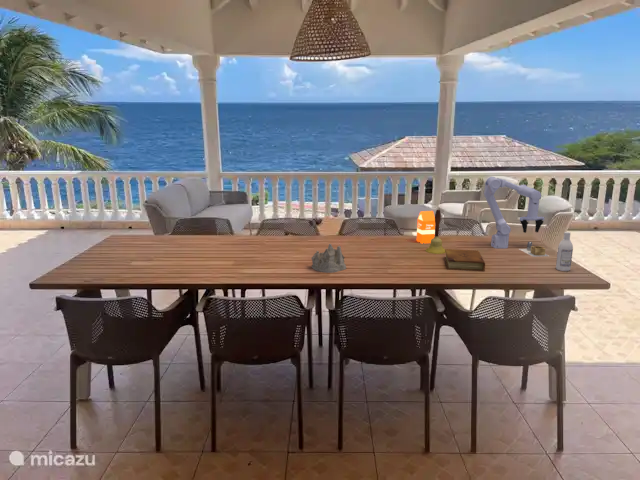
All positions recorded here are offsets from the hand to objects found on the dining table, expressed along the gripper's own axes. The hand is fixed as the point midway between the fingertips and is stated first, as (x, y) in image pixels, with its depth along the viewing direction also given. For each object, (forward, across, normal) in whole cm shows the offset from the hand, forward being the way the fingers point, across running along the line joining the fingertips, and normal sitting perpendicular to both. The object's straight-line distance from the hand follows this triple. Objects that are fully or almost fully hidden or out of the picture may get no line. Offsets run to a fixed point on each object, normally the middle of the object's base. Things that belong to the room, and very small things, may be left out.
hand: (530, 232), depth 302 cm
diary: (+11, -52, -27) cm, 60 cm away
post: (+10, -4, -6) cm, 13 cm away
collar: (+9, -4, -16) cm, 19 cm away
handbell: (+11, -58, +1) cm, 59 cm away
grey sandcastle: (+11, -126, -26) cm, 129 cm away
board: (+10, -4, -12) cm, 16 cm away
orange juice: (+11, -57, +24) cm, 63 cm away
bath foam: (+11, -4, -42) cm, 44 cm away
